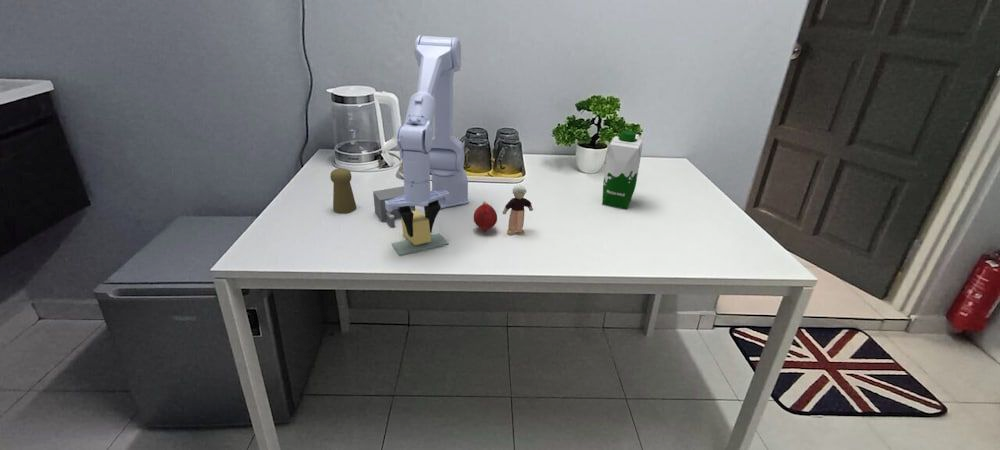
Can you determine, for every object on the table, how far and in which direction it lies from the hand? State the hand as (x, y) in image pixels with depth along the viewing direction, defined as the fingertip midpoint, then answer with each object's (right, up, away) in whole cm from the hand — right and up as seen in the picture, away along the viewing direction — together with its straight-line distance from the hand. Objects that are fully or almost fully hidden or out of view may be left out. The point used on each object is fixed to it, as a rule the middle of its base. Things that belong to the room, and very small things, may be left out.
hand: (419, 233), depth 113 cm
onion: (+15, 0, +9) cm, 17 cm away
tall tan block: (-1, -1, +3) cm, 3 cm away
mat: (0, -3, +1) cm, 3 cm away
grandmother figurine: (+23, 0, +9) cm, 25 cm away
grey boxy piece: (-8, +4, +14) cm, 17 cm away
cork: (-23, +6, +17) cm, 29 cm away
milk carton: (+52, +8, +27) cm, 59 cm away
